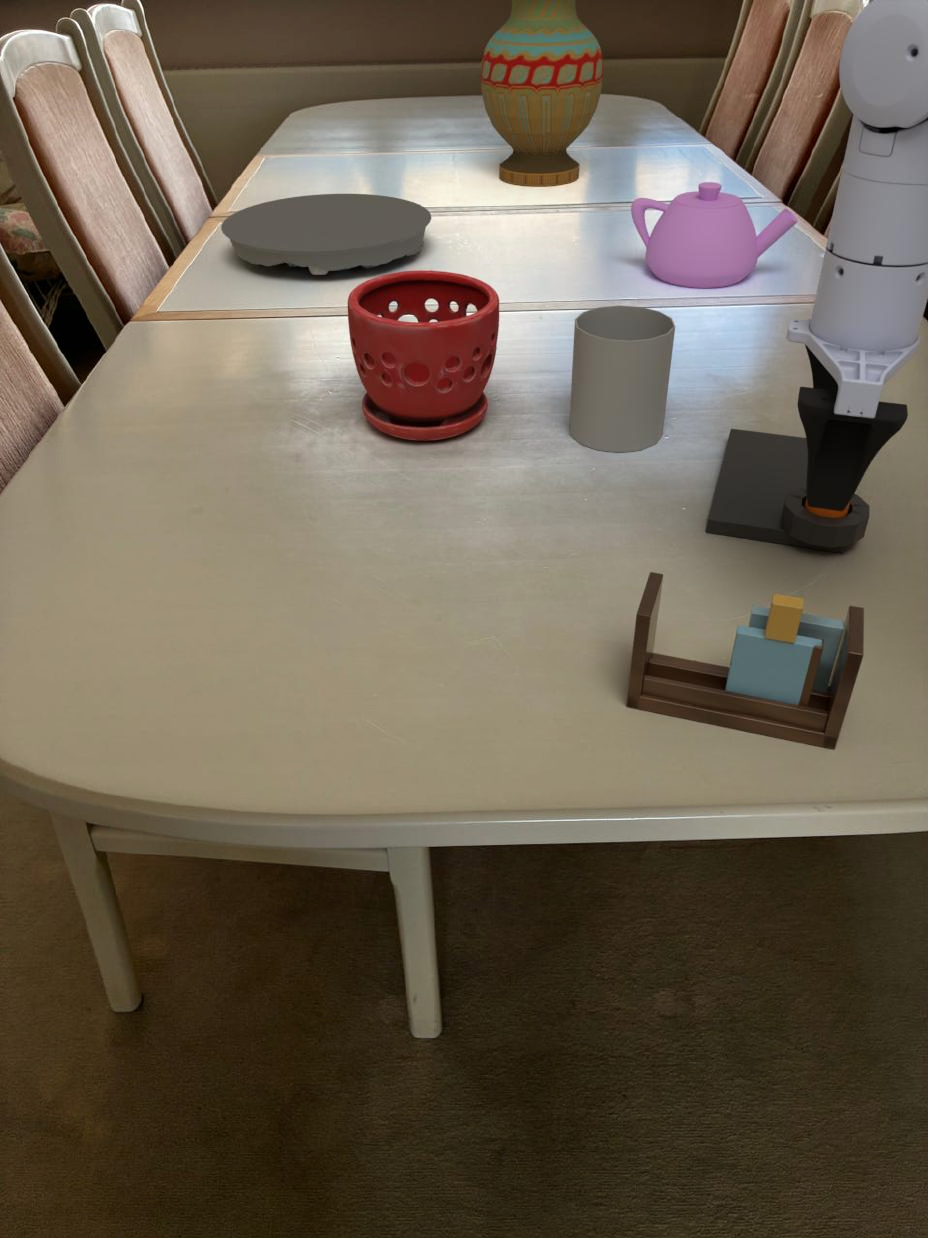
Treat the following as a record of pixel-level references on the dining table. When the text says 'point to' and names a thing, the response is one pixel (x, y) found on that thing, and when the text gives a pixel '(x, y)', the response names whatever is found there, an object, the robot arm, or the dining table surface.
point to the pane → (776, 656)
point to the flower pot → (424, 352)
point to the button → (827, 511)
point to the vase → (541, 89)
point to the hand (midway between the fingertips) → (827, 475)
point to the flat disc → (328, 231)
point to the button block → (776, 496)
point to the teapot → (705, 237)
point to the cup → (620, 377)
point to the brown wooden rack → (704, 697)
